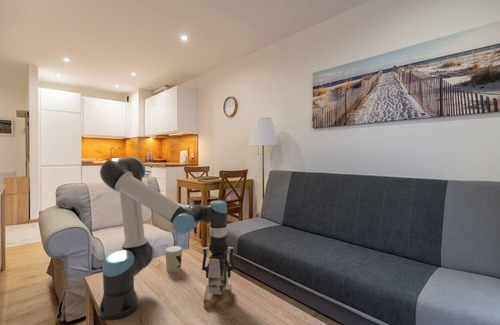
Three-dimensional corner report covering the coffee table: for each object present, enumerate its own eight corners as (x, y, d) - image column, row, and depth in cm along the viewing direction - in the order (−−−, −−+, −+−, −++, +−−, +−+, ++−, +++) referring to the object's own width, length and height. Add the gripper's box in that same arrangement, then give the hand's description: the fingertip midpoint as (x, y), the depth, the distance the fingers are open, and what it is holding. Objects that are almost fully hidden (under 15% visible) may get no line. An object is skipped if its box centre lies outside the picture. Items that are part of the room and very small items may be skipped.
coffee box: (222, 295, 115) (222, 259, 114) (208, 293, 116) (208, 257, 115) (227, 284, 123) (228, 251, 123) (214, 283, 125) (215, 249, 124)
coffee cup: (179, 273, 144) (179, 252, 144) (162, 273, 144) (162, 251, 144) (184, 265, 154) (184, 245, 153) (168, 265, 154) (168, 245, 153)
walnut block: (203, 308, 114) (203, 299, 113) (206, 293, 126) (206, 285, 125) (231, 307, 114) (231, 299, 114) (231, 292, 126) (231, 284, 126)
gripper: (194, 238, 114) (194, 289, 115) (241, 237, 115) (240, 288, 116) (197, 232, 121) (197, 280, 123) (240, 232, 123) (240, 279, 124)
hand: (218, 284), depth 120 cm, fingers closed on coffee box, 7 cm apart
